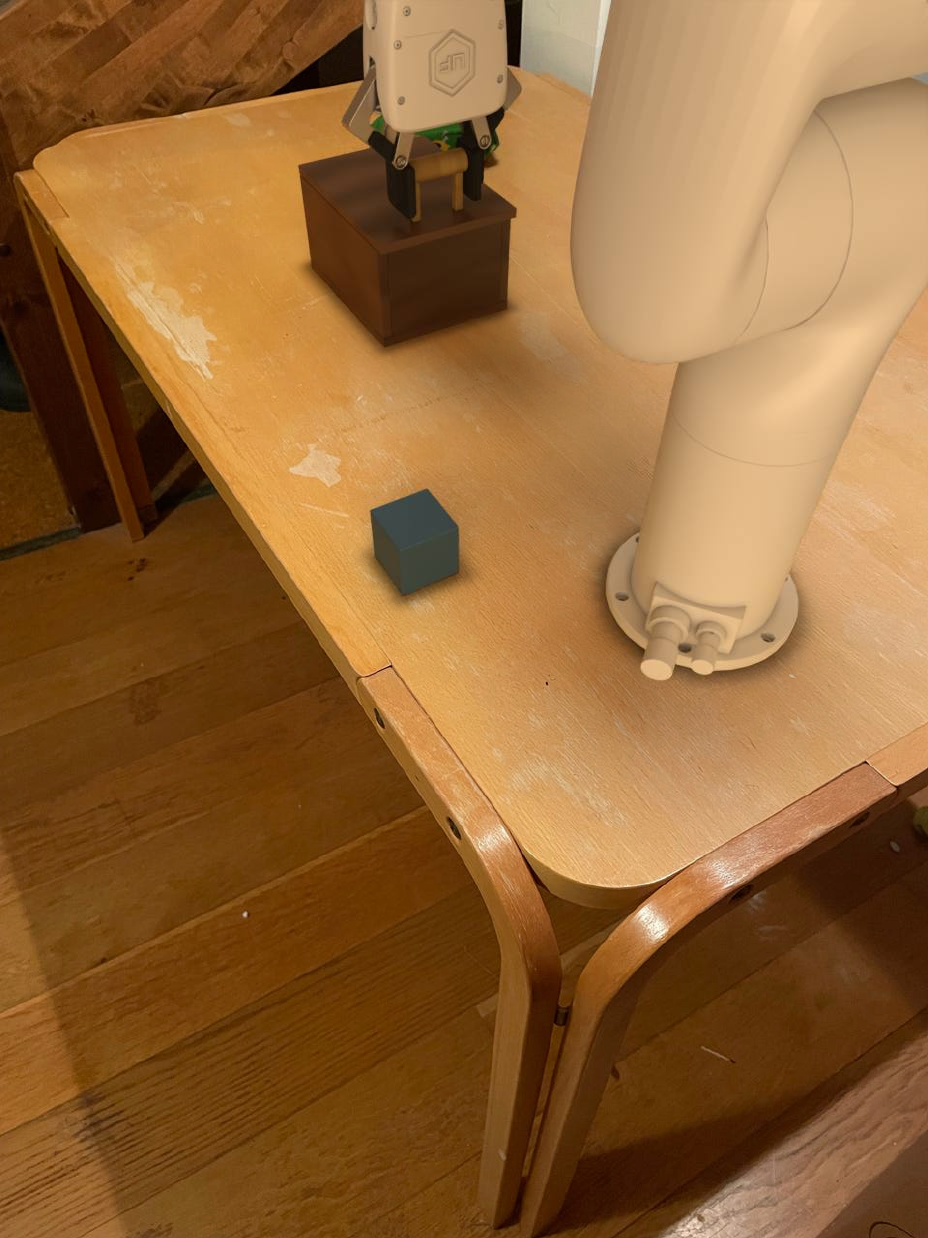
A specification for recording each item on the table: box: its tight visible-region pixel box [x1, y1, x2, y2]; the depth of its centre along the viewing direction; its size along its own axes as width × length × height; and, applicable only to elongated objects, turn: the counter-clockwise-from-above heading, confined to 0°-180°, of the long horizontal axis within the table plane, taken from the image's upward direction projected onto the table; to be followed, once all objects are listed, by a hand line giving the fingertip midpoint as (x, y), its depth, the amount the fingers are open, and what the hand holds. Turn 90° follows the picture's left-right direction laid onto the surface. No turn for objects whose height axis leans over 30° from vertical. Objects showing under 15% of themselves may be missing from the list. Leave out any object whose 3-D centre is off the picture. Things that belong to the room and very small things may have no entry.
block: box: [369, 488, 460, 596], centre depth 61 cm, size 4×4×4 cm
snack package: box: [369, 115, 500, 161], centre depth 101 cm, size 7×16×5 cm, turn 102°
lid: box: [297, 136, 518, 255], centre depth 76 cm, size 17×13×6 cm
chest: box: [299, 174, 512, 348], centre depth 82 cm, size 16×13×9 cm
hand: (436, 200), depth 73 cm, fingers open, 5 cm apart
